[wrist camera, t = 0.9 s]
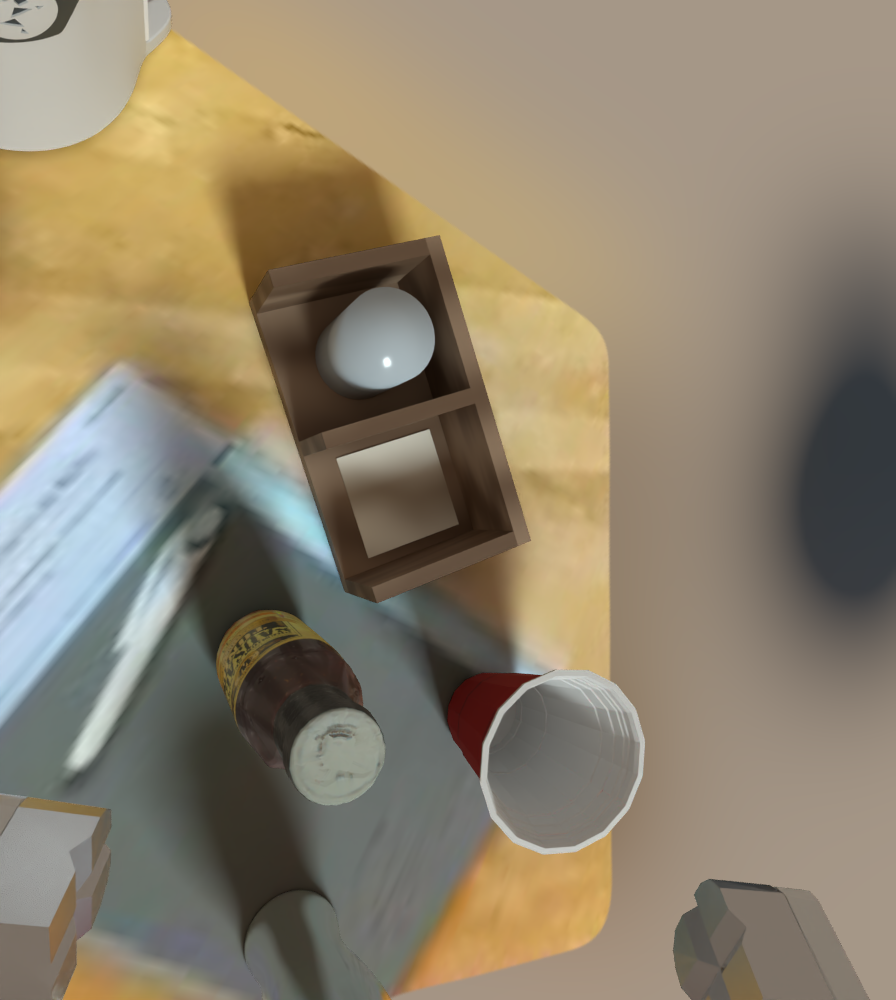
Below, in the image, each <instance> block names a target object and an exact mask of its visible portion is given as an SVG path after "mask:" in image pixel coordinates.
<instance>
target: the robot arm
mask: <svg viewBox="0 0 896 1000" xmlns="http://www.w3.org/2000/svg"><path fill="white" fill-rule="evenodd" d="M171 27H172V17H171V9H170V6H169V4H168V1H167V0H0V148H1V149H6V150H16V151H43V150H52V149H58V148H62V147H66V146H70V145H73V144H76V143H78V142H81V141H83V140H85V139H87V138H89V137H91V136H93V135H95V134H96V133H98V132H100V131H101V130H102V129H104V128H105V127H106V126H108V125H109V124H110V123H111V122H112V121H113V120H114V119H115V118H116V117H117V116H118V115H119V113H120V112H121V111H122V110H123V108H124V107H125V105H126V104H127V102H128V100H129V98H130V96H131V94H132V92H133V90H134V87H135V84H136V81H137V78H138V74H139V71H140V68H141V66H142V63H143V61H144V59H145V57H146V56H147V55H148V54H149V53H150V52H152V51H153V50H154V49H155V48H156V47H157V46H158V45H159V44H160V43H161V42H162V41H163V40H164V39H165V38H166V36H167V35H168V34H169V32H170V30H171ZM110 829H111V809H106V808H99V807H92V806H85V805H79V804H72V803H65V802H58V801H51V800H44V799H37V798H31V797H24V796H16V795H8V794H0V1000H62V999H63V996H64V994H65V992H66V989H67V987H68V984H69V982H70V980H71V977H72V975H73V972H74V970H75V968H76V965H77V940H78V939H79V938H81V937H82V936H83V935H84V934H86V933H87V932H88V931H89V930H91V928H92V926H93V923H94V921H95V918H96V916H97V913H98V911H99V908H100V905H101V902H102V899H103V895H104V892H105V888H106V885H107V881H108V876H109V870H110V864H111V850H110V849H109V847H108V846H107V845H106V844H105V841H106V838H107V836H108V834H109V831H110ZM694 896H695V899H696V902H697V905H698V906H697V907H695V908H693V909H692V910H690V911H688V912H686V913H685V914H683V915H682V917H681V919H680V922H679V923H678V925H677V927H676V930H675V937H674V948H673V953H674V961H675V968H676V972H677V975H678V979H679V982H680V986H681V988H682V989H683V990H684V992H685V993H686V994H687V995H688V996H689V997H690V999H691V1000H870V999H869V997H868V996H867V994H866V992H865V990H864V988H863V986H862V984H861V982H860V980H859V978H858V976H857V974H856V972H855V971H854V968H853V966H852V965H851V963H850V961H849V959H848V957H847V955H846V953H845V951H844V949H843V947H842V945H841V943H840V941H839V939H838V937H837V935H836V933H835V932H834V930H833V928H832V926H831V924H830V922H829V920H828V918H827V916H826V914H825V912H824V910H823V908H822V906H821V904H820V903H819V901H818V899H817V898H816V897H815V896H814V895H813V894H812V893H811V892H810V891H806V890H800V889H791V888H782V887H772V886H770V885H764V884H754V883H744V882H734V881H725V880H715V879H708V880H706V881H704V882H702V883H701V884H700V885H699V887H698V889H697V890H696V892H695V894H694Z"/></svg>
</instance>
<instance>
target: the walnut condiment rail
mask: <svg viewBox="0 0 896 1000" xmlns="http://www.w3.org/2000/svg"><path fill="white" fill-rule="evenodd" d="M378 287H392V288H397V289H400V290H403V291H405V292H407V293H409V294H410V295H412V296H413V297H414V298H416V299H417V300H418V301H419V302H420V303H421V304H422V305H423V307H424V308H425V309H426V311H427V313H428V314H429V316H430V318H431V321H432V324H433V328H434V334H435V345H434V351H433V354H432V357H431V359H430V361H429V363H428V365H427V366H426V367H425V369H424V370H423V371H422V372H421V373H420V374H418V375H417V376H416V377H414V378H412V379H410V380H408V381H406V382H404V383H401V384H399V385H397V386H395V387H393V388H391V389H389V390H387V391H385V392H382V393H380V394H378V395H376V396H374V397H371V398H368V399H361V400H356V399H350V398H346V397H343V396H341V395H339V394H337V393H336V392H334V391H333V390H332V389H331V388H329V386H328V385H327V384H326V383H325V382H324V380H323V379H322V377H321V375H320V374H319V371H318V369H317V365H316V359H315V350H316V344H317V341H318V339H319V336H320V335H321V333H322V331H323V330H324V329H325V328H326V327H327V326H328V325H329V324H330V323H331V322H332V321H333V320H334V319H335V318H336V317H337V316H338V315H340V314H341V313H342V312H343V311H344V310H345V309H346V308H347V307H348V306H349V305H350V304H351V303H352V302H353V301H355V300H356V299H357V298H358V297H359V296H360V295H361V294H363V293H364V292H366V291H368V290H371V289H374V288H378ZM249 304H250V307H251V310H252V313H253V316H254V319H255V322H256V325H257V328H258V331H259V334H260V337H261V340H262V343H263V346H264V349H265V352H266V355H267V358H268V361H269V364H270V367H271V370H272V373H273V376H274V379H275V382H276V385H277V388H278V391H279V394H280V397H281V400H282V403H283V406H284V409H285V412H286V415H287V418H288V421H289V424H290V427H291V430H292V433H293V436H294V440H295V443H296V446H297V449H298V452H299V455H300V458H301V461H302V464H303V467H304V470H305V473H306V476H307V479H308V482H309V485H310V488H311V491H312V494H313V497H314V500H315V503H316V506H317V509H318V512H319V515H320V518H321V521H322V524H323V527H324V530H325V533H326V536H327V539H328V542H329V545H330V548H331V551H332V554H333V557H334V560H335V563H336V566H337V569H338V572H339V575H340V578H341V581H342V584H343V587H344V590H345V592H347V593H350V594H352V595H355V596H358V597H361V598H364V599H367V600H369V601H372V602H375V603H379V602H382V601H384V600H386V599H389V598H391V597H394V596H396V595H399V594H401V593H404V592H406V591H409V590H411V589H414V588H416V587H418V586H421V585H423V584H426V583H428V582H431V581H433V580H436V579H438V578H441V577H443V576H446V575H448V574H450V573H453V572H455V571H458V570H460V569H463V568H465V567H468V566H470V565H473V564H475V563H478V562H480V561H482V560H485V559H487V558H490V557H492V556H495V555H497V554H500V553H502V552H505V551H507V550H510V549H512V548H514V547H517V546H519V545H522V544H524V543H527V542H529V541H531V539H530V536H529V532H528V529H527V526H526V522H525V519H524V516H523V512H522V509H521V506H520V502H519V499H518V496H517V492H516V489H515V486H514V482H513V479H512V476H511V472H510V469H509V466H508V462H507V459H506V456H505V452H504V449H503V446H502V442H501V439H500V436H499V432H498V429H497V426H496V422H495V419H494V416H493V412H492V409H491V406H490V402H489V399H488V396H487V392H486V389H485V385H484V382H483V379H482V375H481V372H480V369H479V365H478V362H477V359H476V355H475V352H474V349H473V345H472V342H471V339H470V335H469V332H468V329H467V325H466V322H465V319H464V315H463V312H462V309H461V305H460V302H459V299H458V295H457V292H456V289H455V285H454V282H453V279H452V275H451V272H450V269H449V265H448V262H447V259H446V255H445V252H444V249H443V245H442V242H441V239H440V235H438V236H433V237H429V238H424V239H419V240H414V241H409V242H404V243H399V244H394V245H389V246H384V247H379V248H374V249H369V250H364V251H360V252H355V253H350V254H345V255H340V256H335V257H330V258H325V259H320V260H315V261H310V262H305V263H300V264H295V265H291V266H286V267H281V268H276V269H271V270H268V271H267V273H266V275H265V276H264V278H263V280H262V282H261V283H260V285H259V287H258V288H257V290H256V292H255V294H254V295H253V297H252V299H251V300H250V302H249Z"/></svg>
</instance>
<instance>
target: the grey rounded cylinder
mask: <svg viewBox="0 0 896 1000" xmlns="http://www.w3.org/2000/svg"><path fill="white" fill-rule="evenodd" d="M434 345H435V334H434V328H433V324H432V321H431V318H430V316H429V314H428V313H427V311H426V309H425V308H424V307H423V305H422V304H421V303H420V302H419V301H418V300H417V299H416V298H414V297H413V296H412V295H410V294H409V293H407V292H405V291H403V290H400V289H397V288H392V287H378V288H374V289H371V290H368V291H366V292H364V293H363V294H361V295H360V296H359V297H358V298H357V299H356V300H355V301H353V302H352V303H351V304H350V305H349V306H348V307H347V308H346V309H345V310H344V311H343V312H342V313H341V314H340V315H338V316H337V317H336V318H335V319H334V320H333V321H332V322H331V323H330V324H329V325H328V326H327V327H326V328H325V329H324V330H323V331H322V333H321V335H320V336H319V339H318V341H317V344H316V350H315V359H316V365H317V369H318V371H319V374H320V375H321V377H322V379H323V380H324V382H325V383H326V384H327V385H328V386H329V388H331V389H332V390H333V391H334V392H336V393H337V394H339V395H341V396H343V397H346V398H350V399H356V400H361V399H368V398H371V397H374V396H376V395H378V394H380V393H382V392H385V391H387V390H389V389H391V388H393V387H395V386H397V385H399V384H401V383H404V382H406V381H408V380H410V379H412V378H414V377H416V376H417V375H418V374H420V373H421V372H422V371H423V370H424V369H425V367H426V366H427V365H428V363H429V361H430V359H431V357H432V354H433V351H434Z"/></svg>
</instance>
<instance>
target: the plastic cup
mask: <svg viewBox="0 0 896 1000" xmlns="http://www.w3.org/2000/svg"><path fill="white" fill-rule="evenodd" d="M447 722H448V725H449V728H450V731H451V735H452V737H453V740H454V741H455V743H456V744H457V745H458V746H459V748H460V749H461V750H462V753H463V755H464V757H465V758H466V760H467V761H468V763H469V764H470V766H471V767H472V768H473V770H474V771H475V773H476V774H477V776H478V777H479V779H480V784H481V787H482V790H483V793H484V797H485V800H486V803H487V806H488V809H489V813H490V816H491V818H492V819H493V820H494V821H495V823H496V824H497V825H498V826H499V827H500V828H501V829H502V830H503V832H504V833H505V834H506V835H507V836H508V837H509V838H510V839H511V841H512V842H513V843H516V844H518V845H521V846H523V847H526V848H528V849H531V850H533V851H536V852H538V853H541V854H556V853H569V852H576V851H578V850H580V849H582V848H584V847H586V846H588V845H590V844H591V843H593V842H595V841H597V840H599V839H601V838H603V837H605V836H606V835H607V834H608V833H609V831H610V830H611V829H612V828H613V827H614V826H615V825H616V823H617V822H618V821H619V820H620V819H621V818H622V817H623V815H624V814H625V813H626V812H627V811H628V810H629V808H630V805H631V803H632V801H633V798H634V796H635V793H636V791H637V789H638V786H639V783H640V781H641V778H642V776H643V763H644V747H645V740H644V736H643V733H642V729H641V726H640V722H639V719H638V715H637V712H636V709H635V707H634V706H633V705H632V704H631V702H630V701H629V700H628V699H627V697H626V696H625V695H624V694H623V692H622V691H621V690H620V688H619V687H618V686H617V685H616V684H615V683H613V682H611V681H609V680H607V679H605V678H603V677H601V676H599V675H597V674H595V673H593V672H591V671H589V670H553V671H550V672H548V673H546V674H544V675H533V674H521V673H481V674H477V675H475V676H473V677H471V678H468V679H466V680H465V681H464V682H463V683H462V684H461V685H460V686H459V687H458V688H457V689H456V690H455V692H454V694H453V696H452V699H451V701H450V703H449V705H448V719H447Z"/></svg>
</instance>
